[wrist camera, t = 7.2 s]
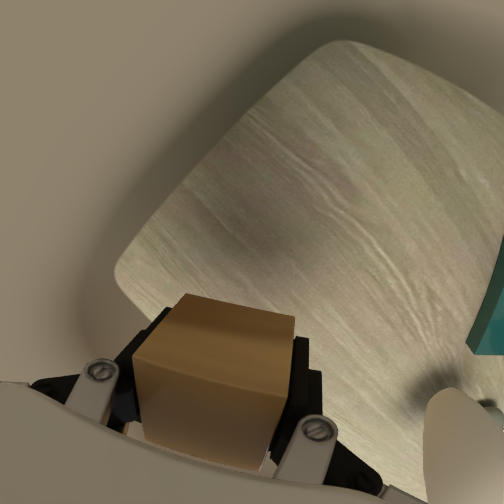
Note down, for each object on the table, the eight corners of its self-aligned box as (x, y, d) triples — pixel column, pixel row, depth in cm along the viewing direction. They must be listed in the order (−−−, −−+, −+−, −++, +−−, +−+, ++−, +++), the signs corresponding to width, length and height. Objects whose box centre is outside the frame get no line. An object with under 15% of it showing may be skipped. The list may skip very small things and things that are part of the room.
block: (185, 292, 12) (130, 355, 8) (295, 315, 11) (287, 396, 7) (182, 372, 13) (144, 439, 9) (274, 395, 13) (260, 472, 8)
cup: (441, 342, 28) (515, 491, 7) (481, 370, 28) (543, 488, 8) (384, 400, 31) (409, 550, 11) (430, 420, 31) (462, 542, 11)
